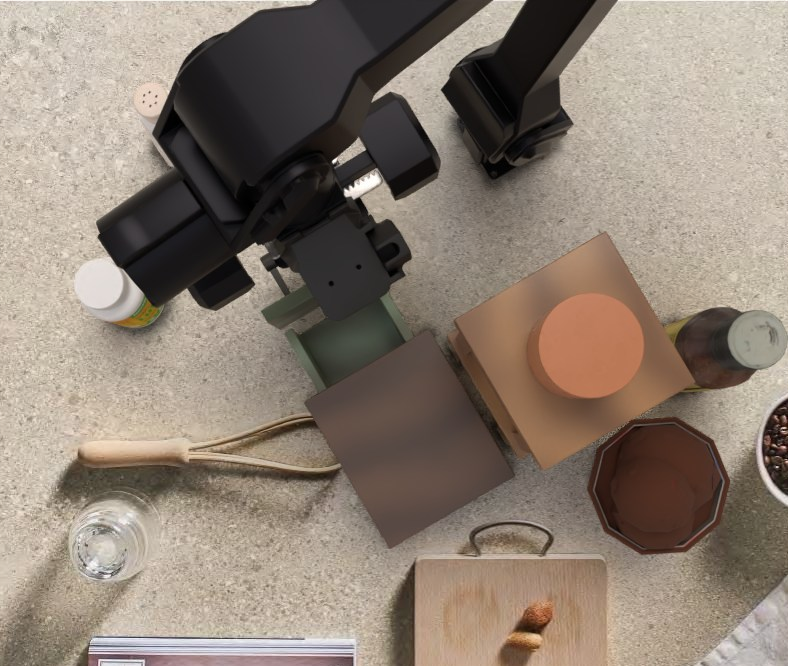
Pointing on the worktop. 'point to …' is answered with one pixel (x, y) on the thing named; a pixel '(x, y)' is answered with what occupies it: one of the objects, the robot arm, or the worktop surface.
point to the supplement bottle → (113, 295)
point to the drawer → (335, 332)
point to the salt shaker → (151, 109)
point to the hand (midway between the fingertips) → (315, 227)
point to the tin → (586, 347)
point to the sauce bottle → (727, 345)
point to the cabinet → (409, 438)
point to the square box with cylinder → (515, 379)
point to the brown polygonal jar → (658, 485)
